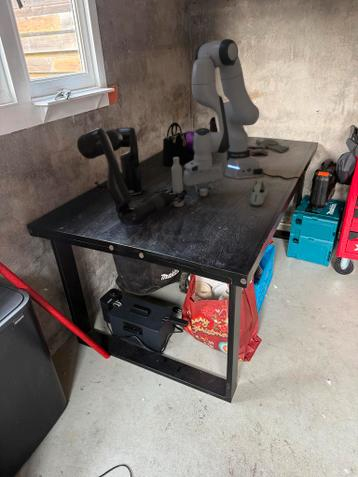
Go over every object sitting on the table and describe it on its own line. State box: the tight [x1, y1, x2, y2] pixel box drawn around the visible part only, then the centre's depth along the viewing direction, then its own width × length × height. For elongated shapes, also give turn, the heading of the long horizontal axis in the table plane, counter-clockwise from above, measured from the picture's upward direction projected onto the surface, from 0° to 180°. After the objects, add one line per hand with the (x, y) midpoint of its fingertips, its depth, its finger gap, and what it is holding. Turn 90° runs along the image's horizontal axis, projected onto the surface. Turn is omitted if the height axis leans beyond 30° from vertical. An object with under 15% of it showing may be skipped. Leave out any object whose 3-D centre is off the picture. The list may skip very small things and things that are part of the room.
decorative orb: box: [184, 130, 195, 154], centre depth 230 cm, size 15×15×15 cm
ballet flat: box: [249, 179, 269, 207], centre depth 158 cm, size 8×24×8 cm, turn 163°
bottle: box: [170, 157, 185, 208], centre depth 152 cm, size 5×5×23 cm
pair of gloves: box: [247, 138, 290, 156], centre depth 228 cm, size 30×26×5 cm
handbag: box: [162, 122, 190, 167], centre depth 211 cm, size 21×9×25 cm, turn 148°
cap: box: [199, 188, 208, 197], centre depth 166 cm, size 4×4×2 cm
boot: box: [208, 116, 219, 132], centre depth 245 cm, size 9×24×20 cm, turn 168°
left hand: (181, 190), depth 156 cm, fingers closed on bottle, 5 cm apart
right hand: (203, 190), depth 166 cm, fingers open, 5 cm apart
